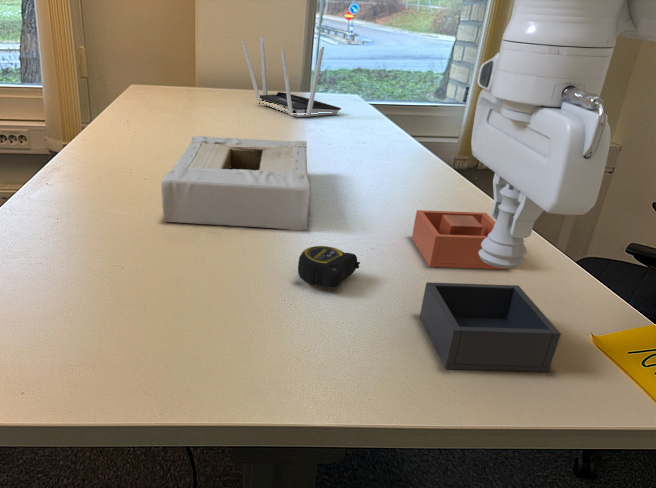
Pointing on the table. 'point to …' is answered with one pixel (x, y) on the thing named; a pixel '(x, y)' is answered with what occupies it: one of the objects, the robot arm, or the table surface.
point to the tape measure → (326, 266)
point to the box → (239, 184)
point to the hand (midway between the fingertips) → (509, 227)
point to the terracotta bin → (450, 241)
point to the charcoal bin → (487, 327)
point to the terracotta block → (460, 225)
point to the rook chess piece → (504, 235)
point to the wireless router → (286, 99)
